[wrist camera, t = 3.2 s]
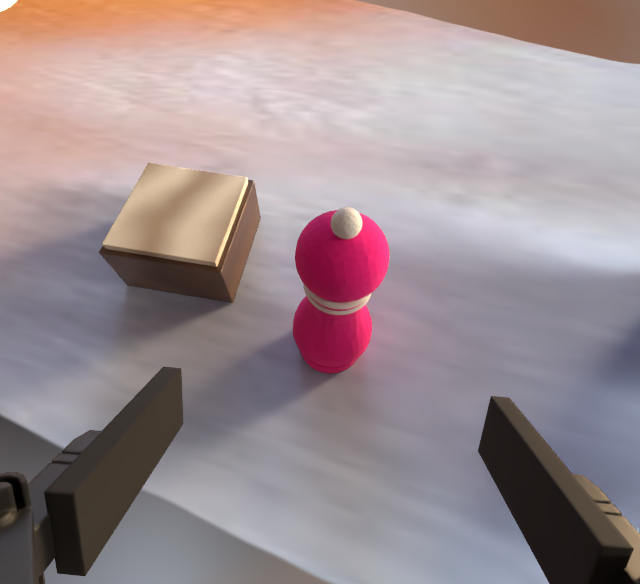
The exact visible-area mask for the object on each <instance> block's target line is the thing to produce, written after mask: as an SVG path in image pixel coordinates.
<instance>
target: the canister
mask: <svg viewBox="0 0 640 584" xmlns="http://www.w3.org/2000/svg"><path fill="white" fill-rule="evenodd" d="M16 1H17V0H0V12H1V11H3V10H5V9H7V8H9V7H11V6H12V5H13V4H14V3H15V2H16Z"/></svg>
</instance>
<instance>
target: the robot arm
mask: <svg viewBox="0 0 640 584" xmlns="http://www.w3.org/2000/svg"><path fill="white" fill-rule="evenodd" d="M182 425H183V408H182V377H181V368H171V367H163V368H162V369H161V370H160V371H159V372H158V373H157V374H156V375H155V376H154V377H153V378H152V379H151V380H150V381H149V382H148V383H147V384H146V386H145V387H144V388H143V389H142V390H141V391H140V392H139V393H138V394H137V395H136V396H135V397H134V398H133V399H132V400H131V401H130V402H129V403H128V404H127V405H126V406H125V408H124V409H123V410H122V411H121V412H120V413H119V414H118V415H117V416H116V417H115V418H114V419H113V420H112V421H111V422H110V423H109V424H108V425H107V426H106V427H105V428H104V429H103V431H94V430H90V431H88V432H86V433H84V434H83V435H81V436H79V437H78V438H76V439H74V440H73V441H72V442H71V443H70V444H69V445H68V446H67V447H66V448H65V449H64V450H63V451H62V453H60V454H59V455H58V456H56V457H55V458H54V459H53V460H52V463H50V464H48V465H47V466H46V467H45V468H44V469H43V470H42V471H41V472H40V473H39V474H38V475H37V476H36V477H35V478H34V479H33V480H32V481H31V482H30V483H29V484H27V480H26V478H25V476H24V475H22V474H20V473H17V472H16V473H15V472H14V473H13V472H12V473H11V472H6V473H2V474H0V584H45V579H44V573H43V572H44V571H45V569H46V568H47V567H48V566H49V564H50V563H51V562H52V560H53V559H54V558H55V561H56V568H57V573H59V574H69V575H79V576H85V575H86V574H87V572H88V571H89V569H90V568H91V566H92V565H93V563H94V562H95V560H96V558H97V557H98V555H99V554H100V552H101V550H102V549H103V547H104V546H105V544H106V543H107V541H108V540H109V538H110V536H111V535H112V534H113V532H114V530H115V529H116V527H117V526H118V524H119V523H120V521H121V520H122V518H123V516H124V515H125V513H126V512H127V510H128V509H129V507H130V506H131V504H132V502H133V501H134V499H135V498H136V496H137V495H138V493H139V492H140V490H141V488H142V487H143V485H144V484H145V482H146V481H147V479H148V478H149V476H150V474H151V473H152V471H153V470H154V468H155V467H156V465H157V464H158V462H159V460H160V459H161V457H162V456H163V454H164V453H165V451H166V450H167V448H168V446H169V445H170V443H171V442H172V440H173V439H174V437H175V436H176V434H177V432H178V431H179V429H180V428H181V426H182ZM478 452H479V454H480V456H481V458H482V459H483V461H484V463H485V465H486V467H487V469H488V471H489V472H490V474H491V476H492V478H493V480H494V482H495V483H496V485H497V487H498V489H499V491H500V493H501V495H502V496H503V498H504V500H505V502H506V504H507V506H508V508H509V509H510V511H511V513H512V515H513V517H514V519H515V521H516V522H517V524H518V526H519V528H520V530H521V532H522V533H523V535H524V537H525V539H526V541H527V543H528V545H529V546H530V548H531V550H532V552H533V554H534V556H535V558H536V559H537V561H538V563H539V565H540V567H541V569H542V571H543V572H544V574H545V576H546V578H547V580H548V582H549V583H550V584H640V534H639V533H638V532H637V531H636V529H635V528H634V527H633V526H632V525H631V524H630V523H629V521H628V520H627V519H626V518H625V517H624V516H622V513H621V512H620V511H619V510H618V509H617V508H616V507H615V505H613V504H611V501H610V500H609V499H608V497H607V496H606V495H605V494H604V493H603V492H602V491H601V489H600V488H599V487H597V486H596V485H595V484H593V483H592V482H591V481H589V480H588V479H587V478H585V477H584V476H583V475H578V474H572V473H571V472H570V471H569V469H568V468H567V467H566V466H565V465H564V463H563V462H562V461H561V460H560V459H559V457H558V456H557V455H556V454H555V452H554V451H553V450H552V449H551V448H550V446H549V445H548V444H547V443H546V442H545V440H544V439H543V438H542V437H541V436H540V434H539V433H538V432H537V431H536V429H535V428H534V427H533V426H532V425H531V423H530V422H529V421H528V420H527V419H526V417H525V416H524V415H523V414H522V413H521V411H520V410H519V409H518V408H517V406H516V405H515V404H514V403H513V402H512V400H511V399H510V398H506V397H495V396H491V398H490V403H489V407H488V411H487V415H486V419H485V424H484V428H483V432H482V436H481V441H480V445H479V449H478Z"/></svg>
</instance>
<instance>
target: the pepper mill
mask: <svg viewBox="0 0 640 584" xmlns="http://www.w3.org/2000/svg"><path fill="white" fill-rule="evenodd" d="M295 262H296V268H297V271H298V274H299V276H300V278H301V280H302V282H303V283H304V290H305V294H306V297H305V298H304V299H303V300H302V301H301V303H300V305H299V306H298V308H297V310H296V312H295V316H294V321H293V336H294V339H295V342H296V344H297V346H298V348H299V349H300V352H301V355H302V357H303V359H304V360H305V361H306V363H307V364H308V365H309V366H311V367H312V368H313V369H315V370H317V371H320V372H323V373H338V372H341V371H344V370H346V369H348V368H349V367H350V366H352V365H353V363H354V362H355V361H356V360H357V358H358V357H359V356H361V355H362V353H363V352H364V351H365V349H366V348H367V346H368V344H369V341H370V338H371V332H372V321H371V317H370V314H369V311H368V308H367V306H366V303H367V302H368V300H369V298H370V296H371V294H372V292H373V291H374V290H375V289H376V288H377V287H378V286H379V285H380V284H381V282H382V280H383V279H384V277H385V275H386V272H387V269H388V264H389V247H388V243H387V240H386V237H385V235H384V233H383V232H382V230H381V229H380V228H379V226H378V225H377V224H376V223H375V222H374V221H373V220H371V219H370V218H369V217H367V216H365V215H363V214H361V213H358V212H357V211H356V210H355V209H352V208H349V207H345V208H341V209H339V210H335V211H330V212H326V213H324V214H322V215H320V216H318V217H316V218H315V219H313V220H312V221H311V222H309V223H308V225H307V226H306V227H305V228H304V230H303V231H302V233H301V235H300V237H299V239H298V242H297V246H296V252H295Z"/></svg>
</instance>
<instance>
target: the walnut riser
mask: <svg viewBox="0 0 640 584" xmlns="http://www.w3.org/2000/svg"><path fill="white" fill-rule="evenodd" d="M260 218H261V217H260V212H259V206H258V201H257V195H256V189H255V184H254V181H253V180H248V179H247V177H240V176H233V175H226V174H220V173H213V172H206V171H199V170H192V169H186V168H179V167H172V166H165V165H158V164H152V163H148V165H147V166H146V168H145V170H144V172H143V173H142V175H141V177H140V179H139V180H138V182H137V184H136V185H135V187H134V189H133V191H132V192H131V194H130V196H129V198H128V199H127V201H126V203H125V205H124V206H123V208H122V210H121V212H120V213H119V215H118V217H117V219H116V220H115V222H114V224H113V226H112V227H111V229H110V231H109V233H108V234H107V236H106V238H105V240H104V241H103V243H102V245H103V246H102V248H101V250H100V251H99V253H100V255H101V256H102V257H103V258H104V259H105V260H106V261H107V262H108V264H109V265H110V266H111V267H112V268H113V269H114V270H115V272H116V273H117V274H118V275H119V276H120V277H121V278H122V279H123V281H124V282H125V283H126V284H127V285H131V286H137V287H143V288H149V289H155V290H161V291H166V292H172V293H178V294H184V295H190V296H196V297H202V298H208V299H214V300H220V301H225V302H231V303H233V301H234V298H235V295H236V292H237V289H238V286H239V283H240V280H241V277H242V273H243V270H244V267H245V264H246V261H247V258H248V255H249V252H250V249H251V246H252V243H253V240H254V237H255V234H256V231H257V228H258V225H259V221H260Z"/></svg>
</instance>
